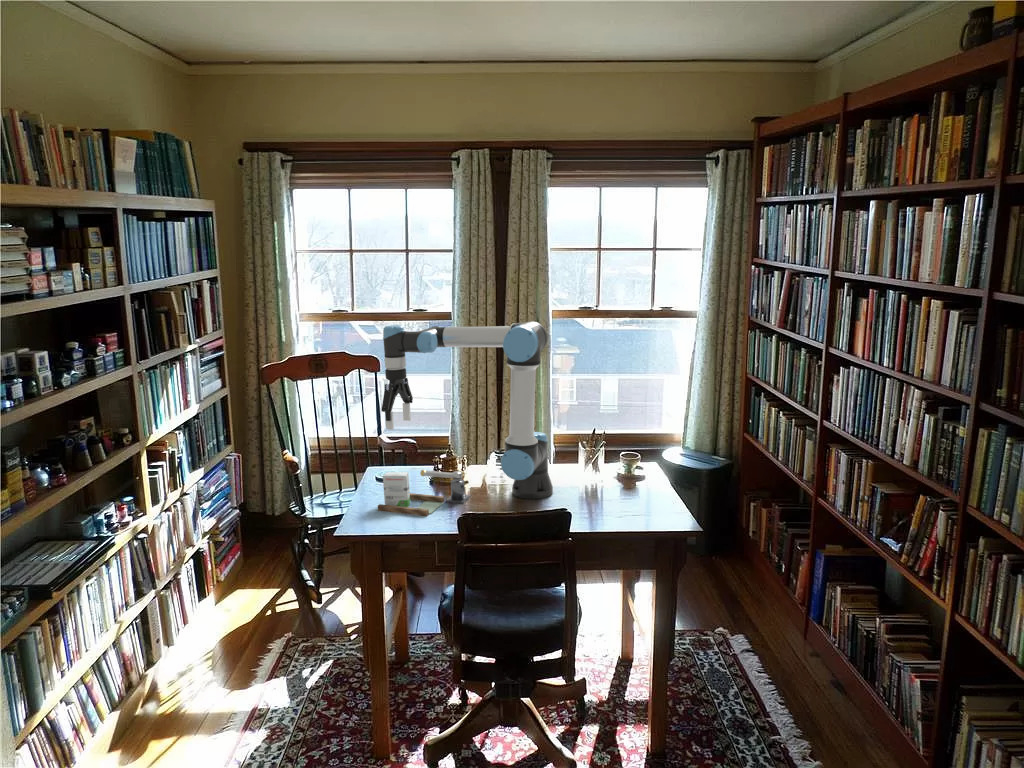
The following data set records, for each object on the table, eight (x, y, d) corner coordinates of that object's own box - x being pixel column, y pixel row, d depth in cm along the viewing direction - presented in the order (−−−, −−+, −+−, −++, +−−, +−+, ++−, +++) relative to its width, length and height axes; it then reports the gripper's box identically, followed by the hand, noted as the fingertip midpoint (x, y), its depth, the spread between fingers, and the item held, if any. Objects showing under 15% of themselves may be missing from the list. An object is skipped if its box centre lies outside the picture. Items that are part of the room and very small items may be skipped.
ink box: (411, 502, 279) (409, 471, 276) (407, 507, 274) (406, 475, 272) (387, 502, 280) (386, 471, 277) (384, 507, 275) (382, 475, 272)
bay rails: (444, 501, 279) (444, 496, 279) (426, 516, 265) (426, 510, 265) (397, 497, 285) (397, 491, 285) (377, 511, 271) (377, 505, 271)
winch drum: (470, 497, 283) (469, 476, 282) (463, 503, 277) (462, 482, 275) (453, 495, 285) (452, 474, 284) (445, 501, 279) (444, 480, 277)
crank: (463, 478, 281) (463, 471, 280) (460, 481, 277) (459, 474, 277) (422, 474, 286) (422, 467, 285) (418, 477, 282) (418, 470, 282)
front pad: (443, 503, 277) (443, 502, 277) (430, 514, 267) (430, 513, 267) (425, 501, 279) (425, 500, 279) (412, 512, 269) (412, 511, 269)
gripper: (402, 362, 292) (405, 416, 296) (369, 373, 269) (373, 432, 273) (419, 362, 290) (422, 417, 294) (388, 374, 266) (391, 433, 271)
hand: (398, 424), depth 283 cm, fingers open, 13 cm apart
